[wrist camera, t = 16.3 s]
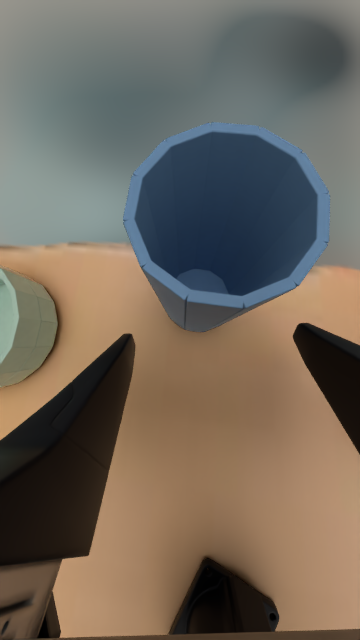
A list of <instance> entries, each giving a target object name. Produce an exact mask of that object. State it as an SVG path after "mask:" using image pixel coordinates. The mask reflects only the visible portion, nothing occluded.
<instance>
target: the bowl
mask: <svg viewBox="0 0 360 640" xmlns="http://www.w3.org/2000/svg"><path fill="white" fill-rule="evenodd" d="M57 323H58V321H57V316H56V310H55V304H54V301H53V300H52V298H51V297H50V296H49V294H48V293H47V291H46V290H45V288H44V287H43V286H42V285H41V284H39V283H38V282H36V281H34V280H33V279H31V278H29V277H27V276H26V275H23V274H21V273H19V272H16V271H14V270H12V269H9V268H7V267H5V266H2V265H0V388H3V387H6V386H10V385H13V384H17V383H19V382H21V381H22V380H23V379H25V378H26V377H27V376H29V375H30V374H31V373H33V372H34V371H35V370H37V369H38V368H39V367H40V366H41V364H42V363H43V361H44V360H45V358H46V357H47V355H48V354H49V352H50V350H51V349H52V347H53V344H54V340H55V335H56V331H57V326H58V324H57Z"/></svg>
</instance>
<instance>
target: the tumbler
mask: <svg viewBox="0 0 360 640" xmlns="http://www.w3.org/2000/svg"><path fill="white" fill-rule="evenodd" d="M133 175H134V176H132V177H131V182H130V187H129V192H128V197H127V202H126V207H125V212H124V216H123V221H124V222H123V224H124V226H125V229H126V232H127V234H128V236H129V239H130V242H131V244H132V247H133V249H134V252H135V254H136V257H137V259H138V262H139V265H140V267H141V269H142V270H143V272H144V274H145V275H146V277H147V279H148V281H149V282H150V284H151V286H152V288H153V289H154V291H155V293H156V295H157V296H158V298H159V300H160V302H161V303H162V305H163V307H164V309H165V310H166V312H167V314H168V316H169V317H170V319H171V320H173V321H174V322H175V323H176V324H177V325H179V326H180V327H182V328H183V329H185V330H189V331H194V332H205V331H208V330H210V329H212V328H215V327H217V326H220V325H222V324H224V323H226V322H228V321H230V320H232V319H234V318H236V317H238V316H240V315H242V314H244V313H246V312H248V311H250V310H252V309H254V308H256V307H258V306H260V305H262V304H264V303H267V302H269V301H271V300H273V299H275V298H277V297H279V296H281V295H283V294H285V293H287V292H289V291H291V290H293V289H295V288H296V287H297V286H299V285H300V283H301V282H302V281H303V279H304V278H305V276H306V275H307V274H308V272H309V271H310V269H311V268H312V267H313V265H314V263H315V262H316V261H317V260H318V258H319V257H320V255H321V254H322V253H323V251H324V250H325V248H326V247H327V246H328V244H327V243H328V242H329V221H330V219H329V217H330V195H329V194H328V193H329V191H328V189H327V188H326V186H325V184H324V183H323V181H322V179H321V178H320V176H319V175H318V173H317V172H316V170H315V168H314V166H313V165H312V163H311V162H310V160H309V158H308V157H307V155H306V153H302V150H301V149H299V148H298V147H296V146H294V145H293V144H291V143H289V142H287V141H286V140H284V139H282V138H280V137H279V136H277V135H275V134H273V133H272V132H270V131H268V130H266V129H265V128H263V127H261V128H260V129H259V126H253V125H240V124H229V123H217V122H212V123H211V125H210V123H206V124H204V125H201V126H198V127H196V128H193V129H190V130H187V131H185V132H182V133H179V134H177V135H174V136H171V137H169V138H166V140H165V141H164V140H163V141H162V142H161V143H160V144H159V145H158V146H157V147H156V149H155V150H154V151H153V152H152V153H151V154H150V155H149V156H148V157H147V159H146V160H145V161H144V162H143V163H142V164H141V165H140V166H139V167H138V168H137V169H136V170H135V172H134V173H133Z"/></svg>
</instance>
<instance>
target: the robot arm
mask: <svg viewBox="0 0 360 640" xmlns="http://www.w3.org/2000/svg"><path fill="white" fill-rule="evenodd" d="M293 339H294V342H295V344H296V346H297V348H298V350H299V352H300V354H301V357H302V359H303V361H304V363H305V365H306V366H307V368H308V370H309V371H310V373H311V375H312V376H313V378H314V380H315V381H316V383H317V385H318V386H319V388H320V390H321V391H322V393H323V395H324V396H325V398H326V399H327V401H328V403H329V404H330V406H331V408H332V409H333V411H334V413H335V414H336V416H337V418H338V419H339V421H340V423H341V424H342V426H343V428H344V429H345V431H346V433H347V434H348V436H349V438H350V439H351V441H352V442H353V444H354V446H355V447H356V449H357V451H358V452H359V454H360V346H359V345H357V344H355V343H353V342H350V341H348V340H346V339H343V338H341V337H339V336H337V335H334V334H332V333H330V332H327V331H325V330H323V329H321V328H318V327H316V326H314V325H312V324H309V323H300V324H298V325H297V328H296V330H295V332H294V334H293ZM134 356H135V342H134V339H133V336H132V334H123V335H122V336H121V337H120V338H119V339H118V340H117V341H115V342H114V343H113V344H112V345H111V346H110V347H109V348H108V349H107V350H106V351H104V352H103V353H102V354H101V355H100V356H99V357H98V358H97V359H96V360H95V361H94V362H92V363H91V364H90V365H89V366H88V367H87V368H86V369H85V370H84V371H83V372H82V373H80V374H79V375H78V376H77V377H76V378H75V379H74V380H73V381H72V382H71V383H69V384H68V385H67V386H66V387H65V388H64V389H63V390H62V391H61V392H59V393H58V394H57V395H56V396H55V397H54V398H53V399H51V400H50V401H49V402H48V403H47V404H45V405H44V406H43V407H42V408H40V409H39V410H38V411H37V412H36V413H34V414H33V415H32V416H31V417H29V418H28V419H27V420H26V421H24V422H23V423H22V424H21V425H19V426H18V427H17V428H16V429H14V430H13V431H12V432H11V433H9V434H8V435H7V436H6V437H4V438H3V439H2V440H0V640H360V629H348V630H314V631H280V632H275V629H276V627H277V624H278V622H279V614H278V611H277V608H276V606H275V604H274V603H273V602H272V601H271V600H269V599H268V598H266V597H265V596H263V595H262V594H260V593H259V592H257V591H256V590H255V589H253V588H252V587H250V586H249V585H247V584H246V583H244V582H243V581H241V580H240V579H239V578H237V577H236V576H234V575H233V574H231V573H230V572H228V571H227V570H225V569H224V568H222V567H221V566H220V565H218V564H217V563H215V562H214V561H212V560H211V559H208V558H207V559H204V560H203V562H202V564H201V566H200V568H199V570H198V572H197V574H196V577H195V579H194V581H193V583H192V585H191V587H190V590H189V592H188V594H187V596H186V598H185V600H184V603H183V605H182V607H181V609H180V611H179V613H178V615H177V618H176V620H175V622H174V624H173V626H172V628H171V631H170V633H169V635H145V636H111V637H77V638H59V637H60V633H61V630H60V625H59V620H58V616H57V611H56V606H55V601H54V596H53V591H52V590H53V587H54V584H55V581H56V577H57V574H58V571H59V568H60V565H61V561H62V559H66V558H74V557H83V556H88V555H89V552H90V548H91V544H92V540H93V536H94V532H95V528H96V523H97V519H98V515H99V511H100V507H101V503H102V498H103V494H104V490H105V486H106V482H107V478H108V473H109V469H110V465H111V461H112V456H113V452H114V448H115V444H116V440H117V436H118V431H119V427H120V423H121V419H122V415H123V411H124V406H125V402H126V398H127V394H128V390H129V386H130V382H131V377H132V372H133V364H134Z"/></svg>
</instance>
